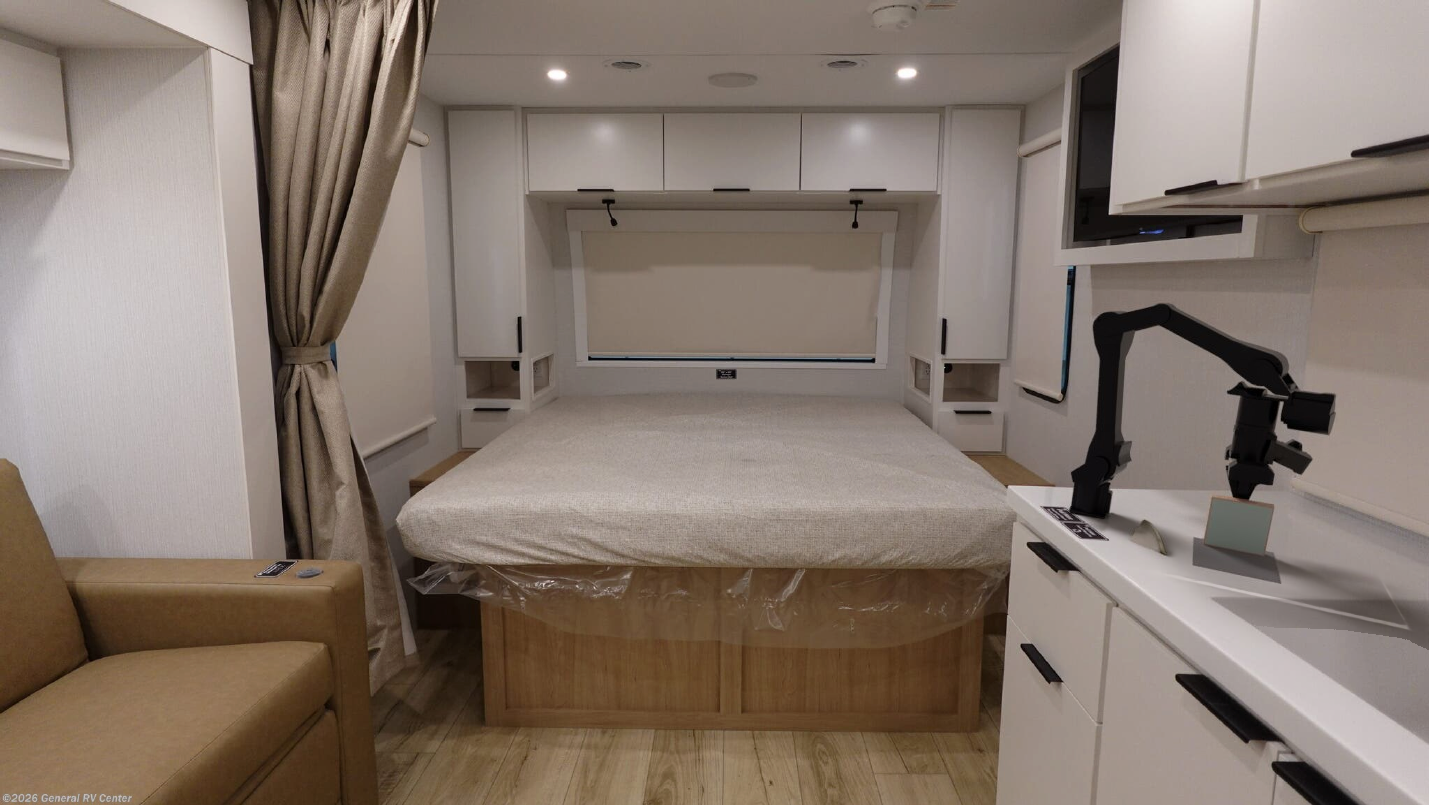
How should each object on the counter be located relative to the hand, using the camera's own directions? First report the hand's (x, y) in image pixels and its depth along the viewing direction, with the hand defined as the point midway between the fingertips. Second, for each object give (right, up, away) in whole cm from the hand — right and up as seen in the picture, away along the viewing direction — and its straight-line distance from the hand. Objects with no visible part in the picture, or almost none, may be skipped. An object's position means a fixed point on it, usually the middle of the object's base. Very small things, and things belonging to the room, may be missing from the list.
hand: (1239, 510), depth 138 cm
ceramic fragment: (-15, -7, +2) cm, 16 cm away
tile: (-1, -7, 0) cm, 7 cm away
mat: (-4, -8, -5) cm, 10 cm away
